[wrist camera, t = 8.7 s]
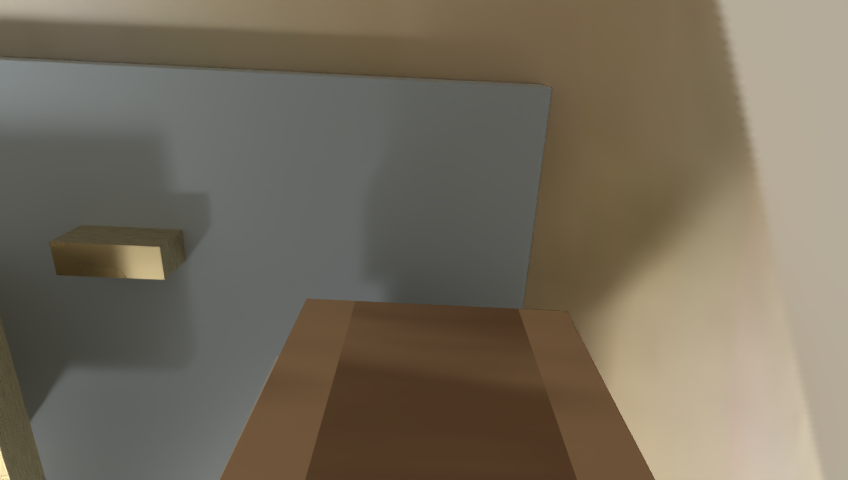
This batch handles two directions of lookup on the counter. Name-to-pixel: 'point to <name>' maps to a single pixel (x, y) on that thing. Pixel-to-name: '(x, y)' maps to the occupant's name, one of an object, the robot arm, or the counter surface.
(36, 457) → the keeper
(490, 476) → the link
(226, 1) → the counter surface
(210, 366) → the board
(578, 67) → the counter surface
